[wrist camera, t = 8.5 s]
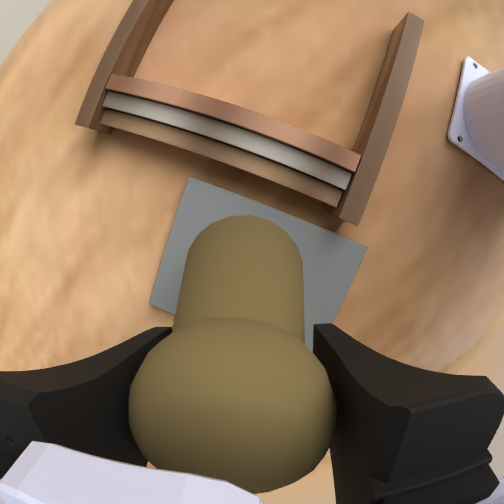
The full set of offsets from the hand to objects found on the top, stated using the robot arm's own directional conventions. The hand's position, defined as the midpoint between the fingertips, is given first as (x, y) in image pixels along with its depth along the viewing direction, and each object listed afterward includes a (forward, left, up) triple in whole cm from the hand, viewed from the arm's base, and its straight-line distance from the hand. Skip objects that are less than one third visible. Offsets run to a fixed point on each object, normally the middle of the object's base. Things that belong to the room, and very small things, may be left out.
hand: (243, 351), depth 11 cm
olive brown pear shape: (+1, -1, -6) cm, 6 cm away
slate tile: (0, 0, -10) cm, 10 cm away
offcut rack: (+5, -13, -10) cm, 17 cm away
